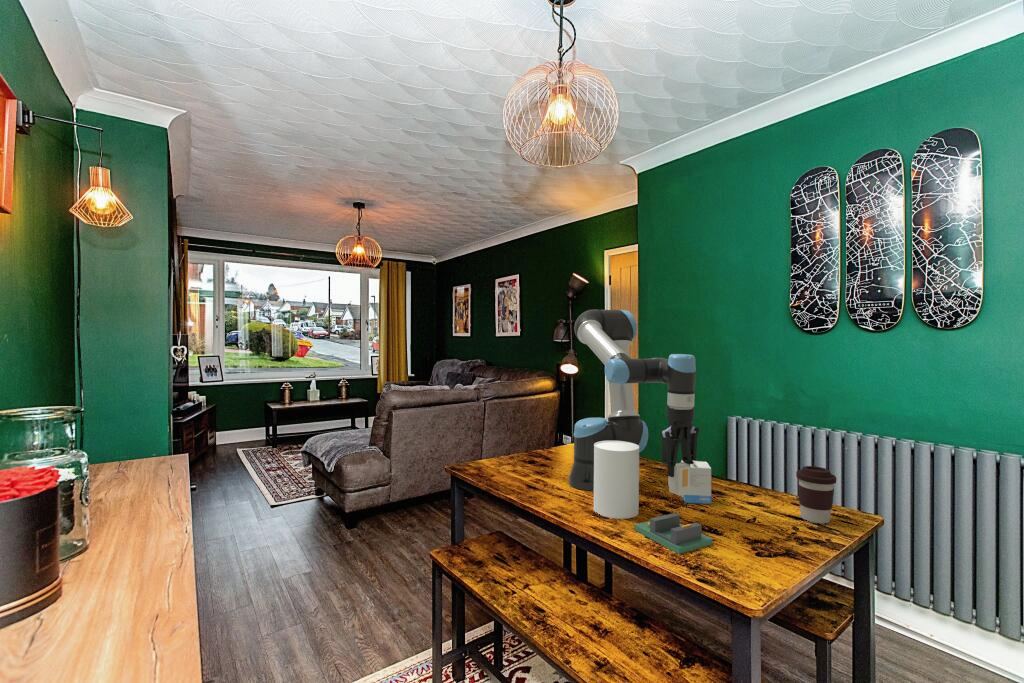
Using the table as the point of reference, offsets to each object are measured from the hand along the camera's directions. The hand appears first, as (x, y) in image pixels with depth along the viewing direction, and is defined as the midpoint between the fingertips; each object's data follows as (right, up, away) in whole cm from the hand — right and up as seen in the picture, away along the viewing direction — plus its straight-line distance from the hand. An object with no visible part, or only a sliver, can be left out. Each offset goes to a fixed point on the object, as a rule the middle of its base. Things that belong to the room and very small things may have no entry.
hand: (678, 485), depth 140 cm
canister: (-17, -10, +7) cm, 21 cm away
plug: (0, -2, 0) cm, 2 cm away
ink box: (+11, -10, +17) cm, 22 cm away
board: (-6, -10, -13) cm, 17 cm away
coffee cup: (+40, -10, 0) cm, 42 cm away
